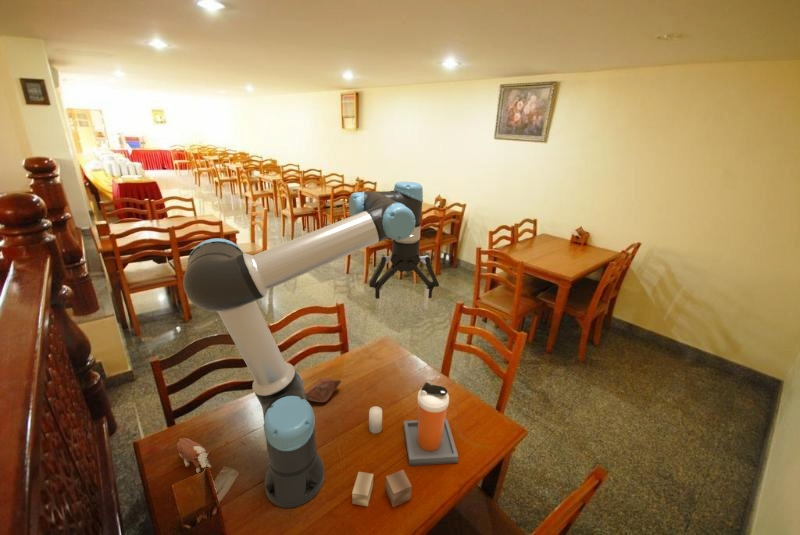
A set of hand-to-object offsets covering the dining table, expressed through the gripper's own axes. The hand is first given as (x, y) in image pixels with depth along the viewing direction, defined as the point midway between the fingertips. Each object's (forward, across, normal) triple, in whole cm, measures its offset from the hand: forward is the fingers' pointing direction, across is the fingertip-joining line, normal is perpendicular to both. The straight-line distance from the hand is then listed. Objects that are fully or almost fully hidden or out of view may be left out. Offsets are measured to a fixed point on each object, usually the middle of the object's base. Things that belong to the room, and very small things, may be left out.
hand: (403, 307), depth 105 cm
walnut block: (+39, -3, -30) cm, 49 cm away
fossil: (+39, -26, +7) cm, 47 cm away
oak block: (+39, -12, -29) cm, 50 cm away
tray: (+39, +8, -15) cm, 42 cm away
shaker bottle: (+38, +8, -15) cm, 42 cm away
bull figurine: (+39, -57, -18) cm, 71 cm away
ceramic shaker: (+39, -8, -8) cm, 40 cm away
